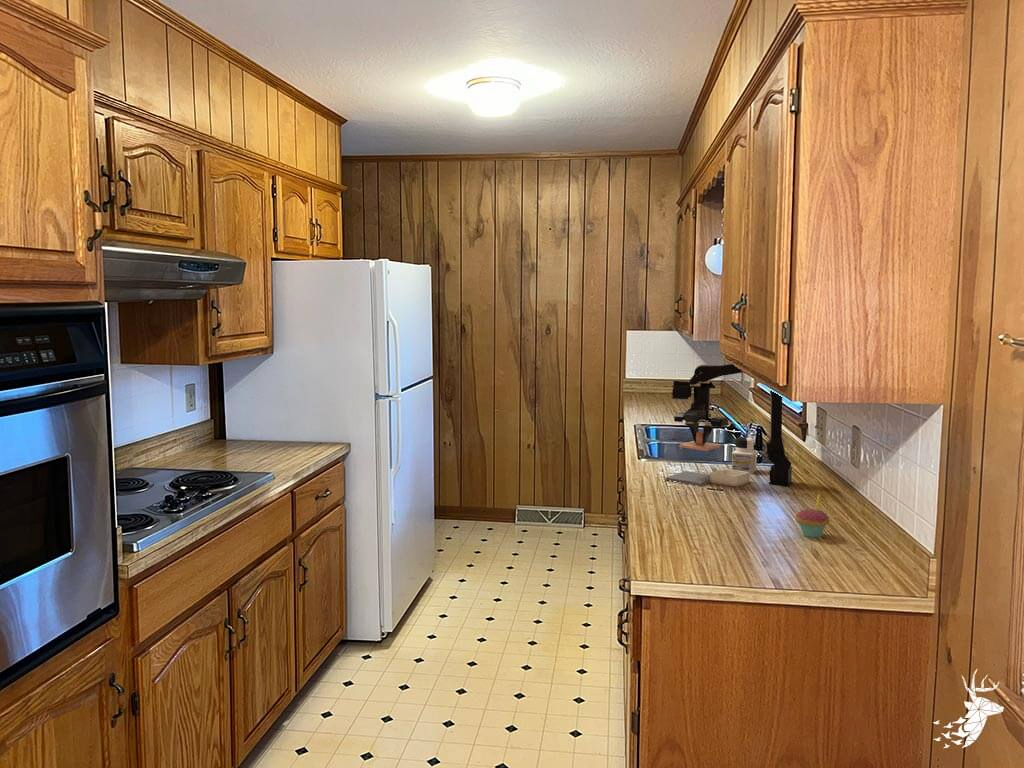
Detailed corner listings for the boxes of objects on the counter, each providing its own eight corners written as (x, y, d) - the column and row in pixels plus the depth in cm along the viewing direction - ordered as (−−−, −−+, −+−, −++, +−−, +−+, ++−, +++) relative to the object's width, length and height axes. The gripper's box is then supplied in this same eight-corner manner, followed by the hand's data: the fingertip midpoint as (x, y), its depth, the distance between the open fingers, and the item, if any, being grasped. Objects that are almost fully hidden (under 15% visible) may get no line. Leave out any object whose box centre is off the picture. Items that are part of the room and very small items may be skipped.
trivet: (719, 479, 276) (719, 476, 276) (700, 486, 266) (700, 483, 266) (685, 474, 286) (685, 470, 286) (665, 480, 275) (665, 477, 275)
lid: (720, 446, 274) (720, 432, 274) (706, 450, 266) (706, 435, 266) (693, 442, 281) (694, 428, 281) (679, 446, 273) (679, 432, 273)
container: (731, 472, 287) (732, 438, 286) (735, 468, 294) (736, 435, 293) (752, 474, 284) (753, 439, 282) (756, 470, 291) (757, 436, 289)
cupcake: (817, 529, 213) (818, 487, 212) (835, 538, 205) (836, 494, 204) (789, 531, 212) (790, 489, 211) (806, 540, 203) (807, 496, 202)
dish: (749, 481, 272) (749, 472, 272) (736, 486, 265) (736, 477, 264) (723, 477, 279) (723, 468, 278) (710, 482, 271) (710, 473, 271)
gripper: (666, 399, 272) (665, 442, 274) (714, 404, 260) (713, 449, 261) (682, 397, 280) (681, 438, 282) (729, 401, 268) (728, 445, 270)
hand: (699, 443), depth 274 cm, fingers closed on lid, 3 cm apart
